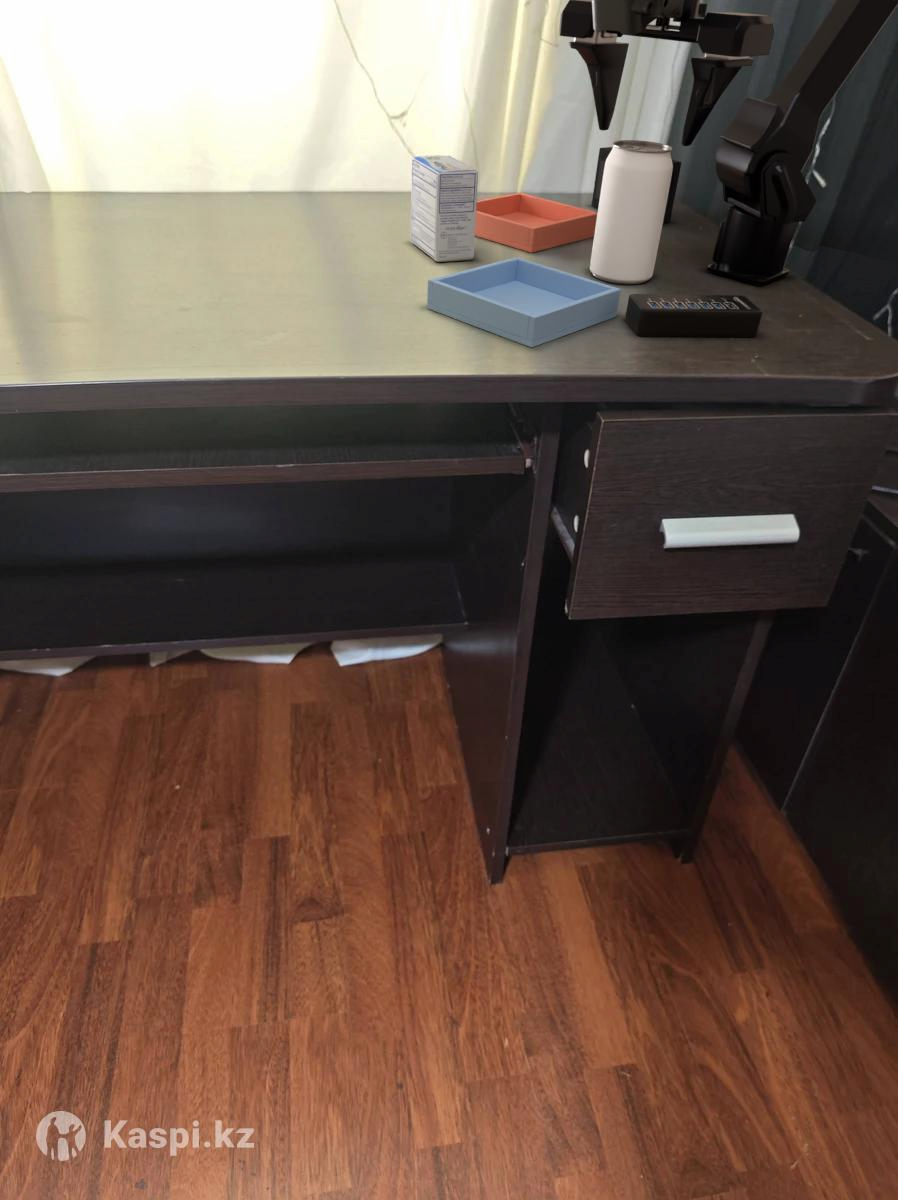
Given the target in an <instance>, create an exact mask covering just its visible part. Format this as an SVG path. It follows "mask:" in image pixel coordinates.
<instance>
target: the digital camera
mask: <svg viewBox="0 0 898 1200" xmlns="http://www.w3.org/2000/svg"><path fill="white" fill-rule="evenodd" d="M612 148H613V146H607V147H606V146H605V147H599V151H598V157H597V163H596V171H595V179H594V183H593V184H594V186H593V191H592V200H591V206H592V207H594V208H596V209H598V207H599V200H600V193H601V186H602V180H603V173H604V167H605V162H606V159H607V157H608V155H609V154H610V152H611V150H612ZM671 159H672V158H671ZM672 164H673V171H672V177H671V182H670V188H669V193H668V198H667V204H666V209H665V214H664V219H663V223H670V222H671V218H672V213H673V208H674V203H675V199H676V193H677V188H678V183H679V178H680V172H681V168H682V161H679V160H677V159H672Z"/></svg>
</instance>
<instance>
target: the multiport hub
mask: <svg viewBox="0 0 898 1200" xmlns="http://www.w3.org/2000/svg"><path fill="white" fill-rule="evenodd" d="M763 313H764V311H763V310H762V308H761V307H759V306H758V305H756V304H755V303H754V302H753V301H751V300H750V298H748V297H746V296H745V295H739V294H738V295H734V294H733V295H732V294H729V295H728V294H727V295H726V294H665V293H664V294H663V293H661V294H660V293H659V294H658V293H655V294H653V293H652V294H650V293H631V294H628V299H627V306H626V312H625V315H624V316H625V317H624V322H625V323H626V324H627V325H628V327H629V328H630V329H631V330H632V331H633V333H634V334H635V335H636V336H638V337H642V338H644V337H645V338H647V337H648V338H649V337H650V338H651V337H652V338H756V337H757V335H758V331H759V328H760V324H761V320H762V316H763Z"/></svg>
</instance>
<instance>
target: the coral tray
mask: <svg viewBox="0 0 898 1200" xmlns="http://www.w3.org/2000/svg"><path fill="white" fill-rule="evenodd" d="M597 213H598V211H594V210H590V209H586V208H583V207H579V206H574V205H570V204H566V203H563V202H559V201H554V200H551V199H548V198H542V197H540V196H536V195H531V194H527V193H523V192H517V193H516V192H515V193H511V194H506V195H505V194H504V195H501V196H496V197H490V198H489V197H488V198H485V199H480V200H477V205H476V225H475V237H478V238H481V239H485V240H488V241H491V242H495V243H498V244H502V245H505V246H508V247H512V248H515V249H518V250H522V251H525V252H527V253H528V252H529V253H531V254H532V253H535V252H540V251H543V250H548V249H551V248H555V247H559V246H563V245H568V244H570V243H575V242H578V241H583V240H586V239H590V238H594V234H595V227H596V220H597Z"/></svg>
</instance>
